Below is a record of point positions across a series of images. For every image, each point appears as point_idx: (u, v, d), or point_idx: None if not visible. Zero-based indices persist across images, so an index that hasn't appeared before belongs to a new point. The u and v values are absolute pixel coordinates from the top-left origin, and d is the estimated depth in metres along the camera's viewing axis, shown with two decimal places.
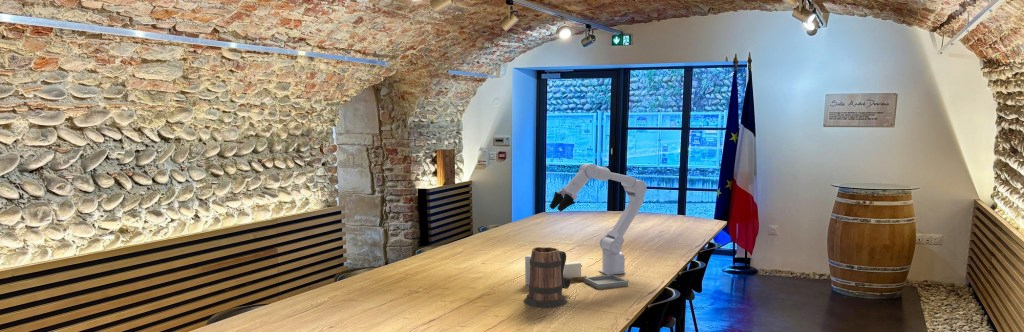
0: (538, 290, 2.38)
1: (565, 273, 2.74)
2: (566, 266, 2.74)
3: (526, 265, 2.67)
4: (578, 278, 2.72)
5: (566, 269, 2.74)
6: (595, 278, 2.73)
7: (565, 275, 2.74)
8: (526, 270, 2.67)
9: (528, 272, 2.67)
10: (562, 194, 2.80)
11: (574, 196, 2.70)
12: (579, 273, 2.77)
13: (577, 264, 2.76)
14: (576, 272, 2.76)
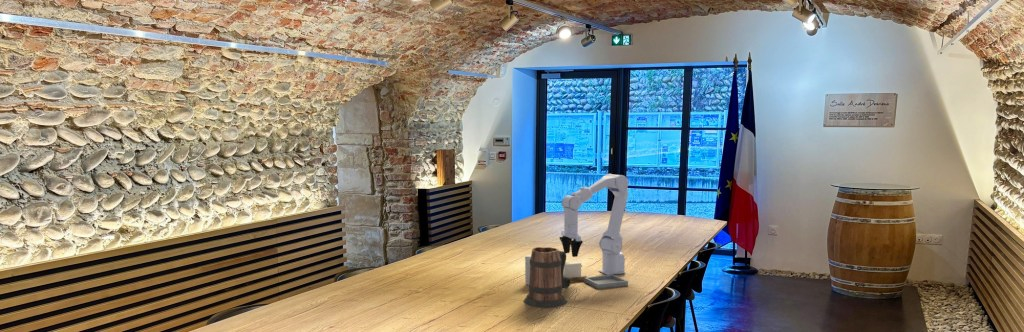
0: (538, 290, 2.38)
1: (565, 273, 2.74)
2: (566, 266, 2.74)
3: (526, 265, 2.67)
4: (578, 278, 2.72)
5: (566, 269, 2.74)
6: (595, 278, 2.73)
7: (565, 275, 2.74)
8: (526, 270, 2.67)
9: (528, 272, 2.67)
10: (566, 235, 2.79)
11: (578, 239, 2.69)
12: (579, 273, 2.77)
13: (577, 264, 2.76)
14: (576, 272, 2.76)
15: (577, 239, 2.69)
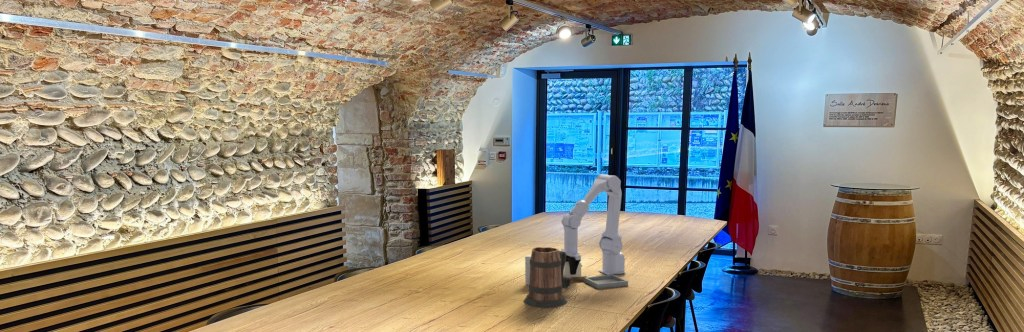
0: (538, 290, 2.38)
1: (565, 273, 2.74)
2: (566, 266, 2.74)
3: (526, 265, 2.67)
4: (578, 278, 2.72)
5: (566, 269, 2.74)
6: (595, 278, 2.73)
7: (565, 275, 2.74)
8: (526, 270, 2.67)
9: (528, 272, 2.67)
10: None
11: (578, 258, 2.70)
12: (579, 273, 2.77)
13: None
14: (576, 272, 2.76)
15: (577, 258, 2.70)
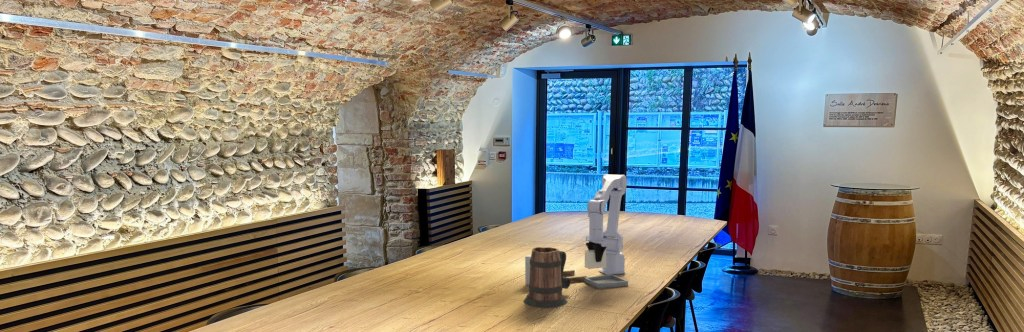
0: (538, 290, 2.38)
1: (590, 261, 2.67)
2: (591, 254, 2.67)
3: (526, 265, 2.67)
4: (578, 278, 2.72)
5: (591, 256, 2.67)
6: (595, 278, 2.73)
7: (590, 263, 2.67)
8: (526, 270, 2.67)
9: (528, 272, 2.67)
10: None
11: (604, 244, 2.63)
12: (604, 261, 2.70)
13: None
14: (601, 260, 2.69)
15: (603, 244, 2.63)
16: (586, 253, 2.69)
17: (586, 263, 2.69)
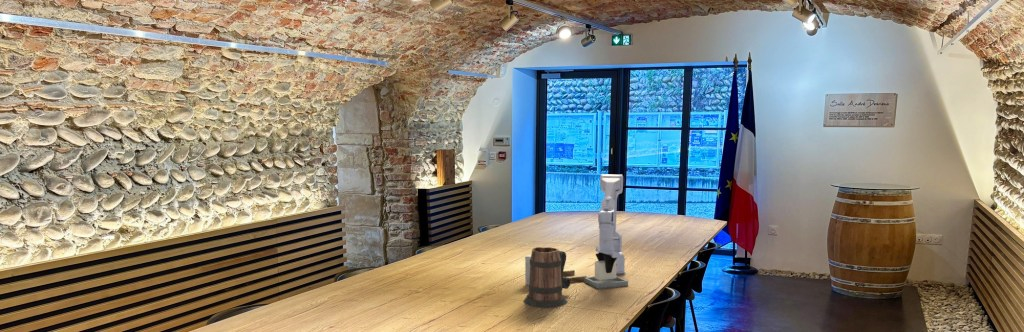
0: (538, 290, 2.38)
1: (600, 272, 2.65)
2: (601, 265, 2.65)
3: (526, 265, 2.67)
4: (578, 278, 2.72)
5: (601, 268, 2.65)
6: (595, 278, 2.73)
7: (600, 274, 2.65)
8: (526, 270, 2.67)
9: (528, 272, 2.67)
10: None
11: (614, 255, 2.61)
12: (614, 272, 2.68)
13: None
14: None
15: (613, 256, 2.61)
16: (596, 264, 2.67)
17: (596, 274, 2.67)
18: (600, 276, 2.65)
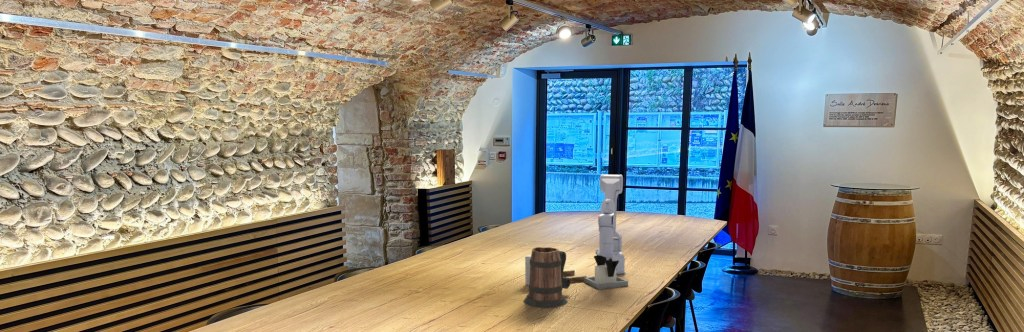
0: (538, 290, 2.38)
1: (600, 277, 2.65)
2: (601, 269, 2.65)
3: (526, 265, 2.67)
4: (578, 278, 2.72)
5: (601, 272, 2.65)
6: None
7: (600, 279, 2.65)
8: (526, 270, 2.67)
9: (528, 272, 2.67)
10: None
11: (614, 258, 2.61)
12: (614, 277, 2.68)
13: None
14: None
15: (613, 259, 2.61)
16: (596, 269, 2.67)
17: (596, 279, 2.67)
18: (600, 280, 2.65)
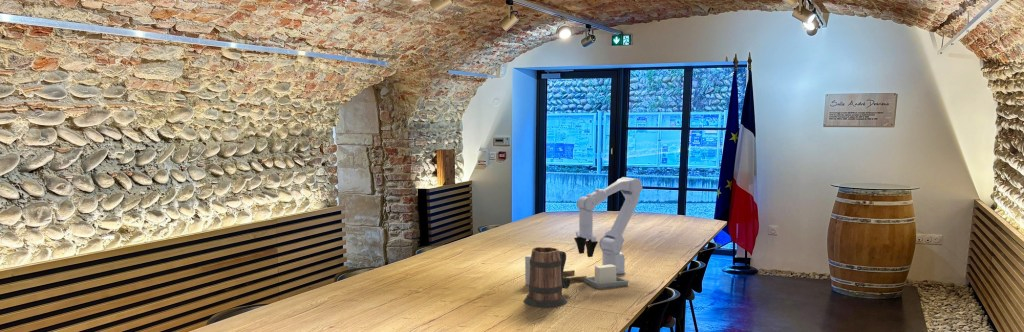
0: (538, 290, 2.38)
1: (600, 277, 2.65)
2: (601, 269, 2.65)
3: (526, 265, 2.67)
4: (578, 278, 2.72)
5: (601, 272, 2.65)
6: None
7: (600, 279, 2.65)
8: (526, 270, 2.67)
9: (528, 272, 2.67)
10: None
11: (593, 239, 2.74)
12: (614, 277, 2.68)
13: (612, 267, 2.67)
14: (611, 276, 2.67)
15: (592, 240, 2.74)
16: (596, 269, 2.67)
17: (596, 279, 2.67)
18: (600, 280, 2.65)
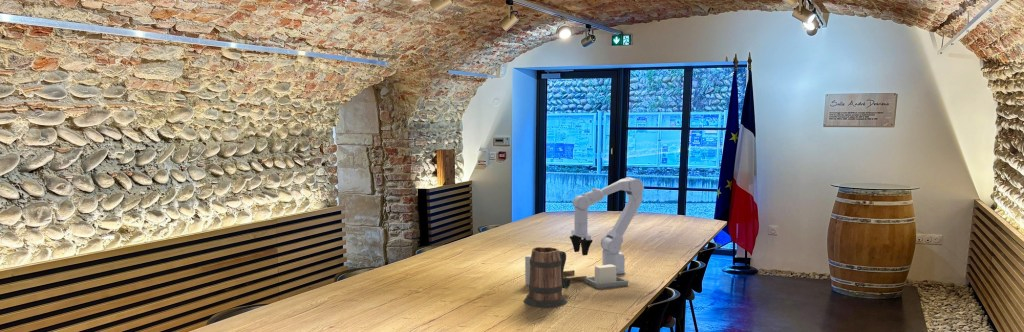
0: (538, 290, 2.38)
1: (600, 277, 2.65)
2: (601, 269, 2.65)
3: (526, 265, 2.67)
4: (578, 278, 2.72)
5: (601, 272, 2.65)
6: None
7: (600, 279, 2.65)
8: (526, 270, 2.67)
9: (528, 272, 2.67)
10: None
11: (588, 238, 2.77)
12: (614, 277, 2.68)
13: (612, 267, 2.67)
14: (611, 276, 2.67)
15: (587, 238, 2.77)
16: (596, 269, 2.67)
17: (596, 279, 2.67)
18: (600, 280, 2.65)
